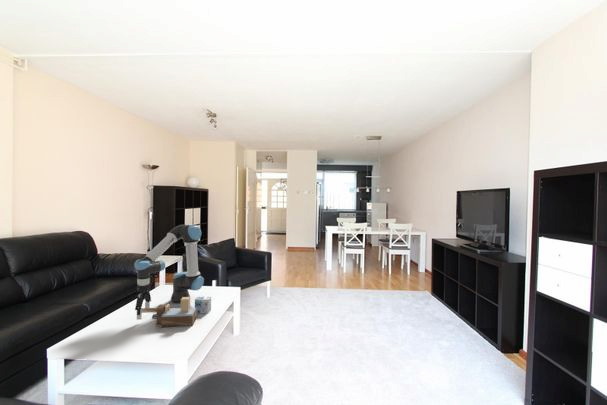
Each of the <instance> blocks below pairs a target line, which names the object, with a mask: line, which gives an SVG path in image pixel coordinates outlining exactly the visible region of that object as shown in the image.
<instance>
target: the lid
mask: <svg viewBox="0 0 607 405" xmlns="http://www.w3.org/2000/svg"><path fill="white" fill-rule="evenodd" d="M170 304H171V303H167V304H166V307H165V312H164V313H163V314H162V317H177V316H192V315H193V313H194V312H195V310H196V308H195V307H191V296H190V297H183V298H182V299H181V303H180V307H177V308H170V306H171V305H170Z"/></svg>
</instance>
